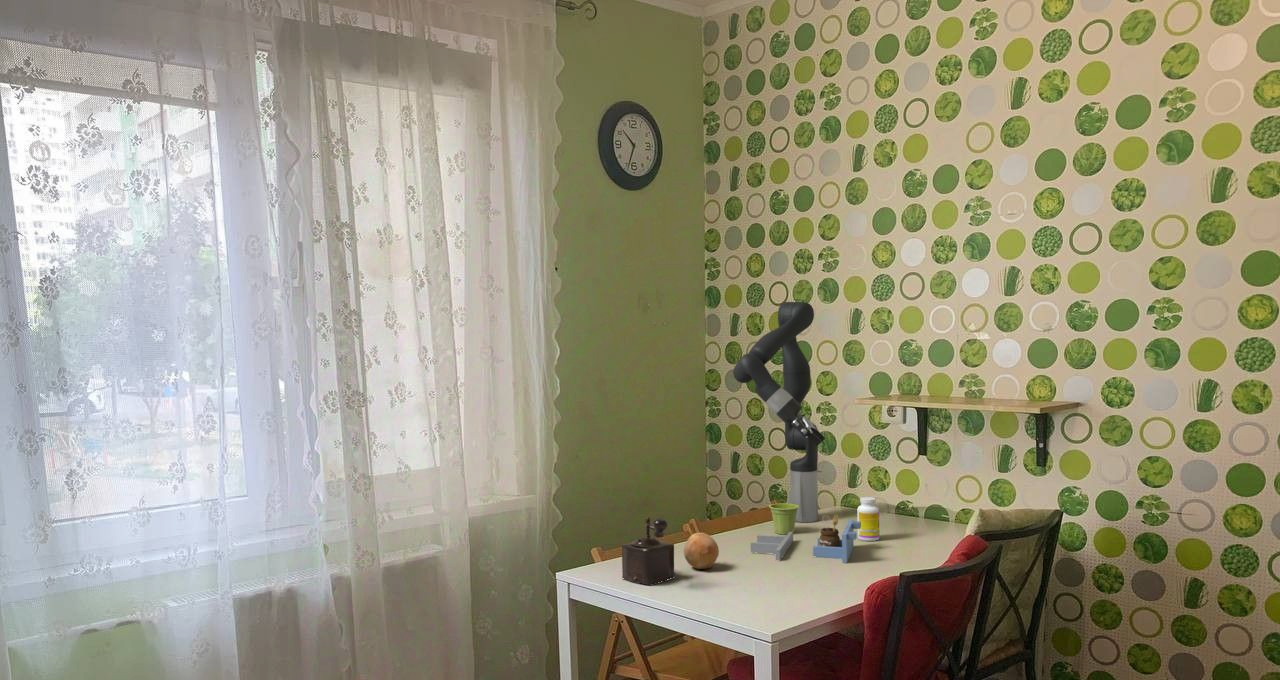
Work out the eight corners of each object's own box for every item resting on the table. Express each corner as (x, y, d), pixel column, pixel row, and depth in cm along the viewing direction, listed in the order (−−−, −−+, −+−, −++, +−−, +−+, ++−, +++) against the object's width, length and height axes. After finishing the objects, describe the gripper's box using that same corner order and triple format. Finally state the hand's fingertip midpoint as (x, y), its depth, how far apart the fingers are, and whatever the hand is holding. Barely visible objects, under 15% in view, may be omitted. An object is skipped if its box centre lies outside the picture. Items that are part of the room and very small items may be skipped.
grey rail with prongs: (746, 558, 266) (745, 548, 266) (762, 539, 289) (761, 530, 289) (779, 560, 263) (779, 550, 263) (793, 541, 286) (793, 531, 286)
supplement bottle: (881, 541, 283) (881, 500, 283) (860, 541, 283) (859, 500, 283) (876, 536, 290) (876, 496, 290) (855, 536, 290) (855, 496, 290)
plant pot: (774, 528, 304) (774, 502, 304) (802, 530, 300) (802, 504, 300) (765, 534, 296) (765, 507, 296) (794, 537, 292) (793, 509, 291)
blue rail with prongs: (811, 560, 262) (810, 532, 262) (820, 544, 281) (819, 518, 281) (855, 563, 258) (854, 535, 258) (861, 546, 277) (861, 520, 277)
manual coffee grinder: (619, 579, 247) (617, 513, 246) (647, 571, 254) (646, 506, 254) (661, 590, 236) (659, 520, 235) (689, 581, 244) (688, 514, 243)
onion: (726, 568, 256) (726, 532, 256) (701, 575, 249) (700, 538, 249) (702, 562, 263) (701, 527, 263) (676, 568, 257) (676, 533, 256)
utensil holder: (831, 549, 274) (830, 509, 274) (845, 554, 269) (844, 513, 269) (815, 552, 272) (814, 512, 271) (829, 557, 266) (828, 515, 266)
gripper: (788, 398, 281) (826, 436, 278) (795, 395, 295) (832, 431, 291) (771, 415, 283) (809, 453, 280) (779, 411, 297) (815, 447, 293)
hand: (821, 442), depth 286 cm, fingers open, 8 cm apart
